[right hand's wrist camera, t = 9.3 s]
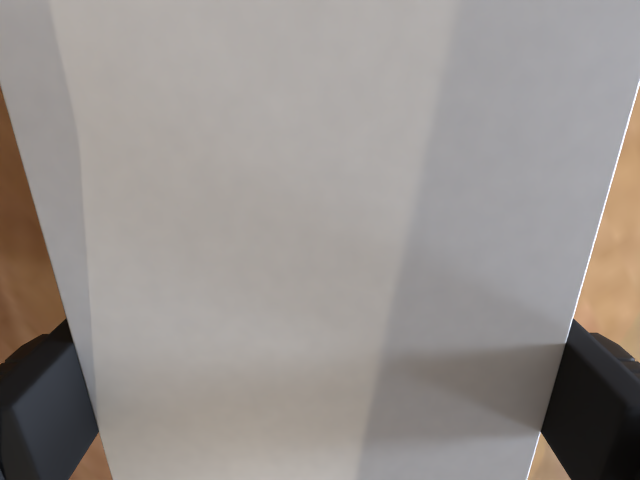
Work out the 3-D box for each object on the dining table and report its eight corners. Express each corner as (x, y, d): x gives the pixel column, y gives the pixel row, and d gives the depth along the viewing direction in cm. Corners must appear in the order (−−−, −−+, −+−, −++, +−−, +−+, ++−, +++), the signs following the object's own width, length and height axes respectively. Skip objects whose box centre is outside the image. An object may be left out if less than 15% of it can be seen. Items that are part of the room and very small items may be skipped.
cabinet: (127, -240, 11) (-303, -969, 3) (512, -240, 11) (943, -972, 3) (203, 326, 18) (118, 501, 11) (436, 326, 18) (521, 502, 11)
